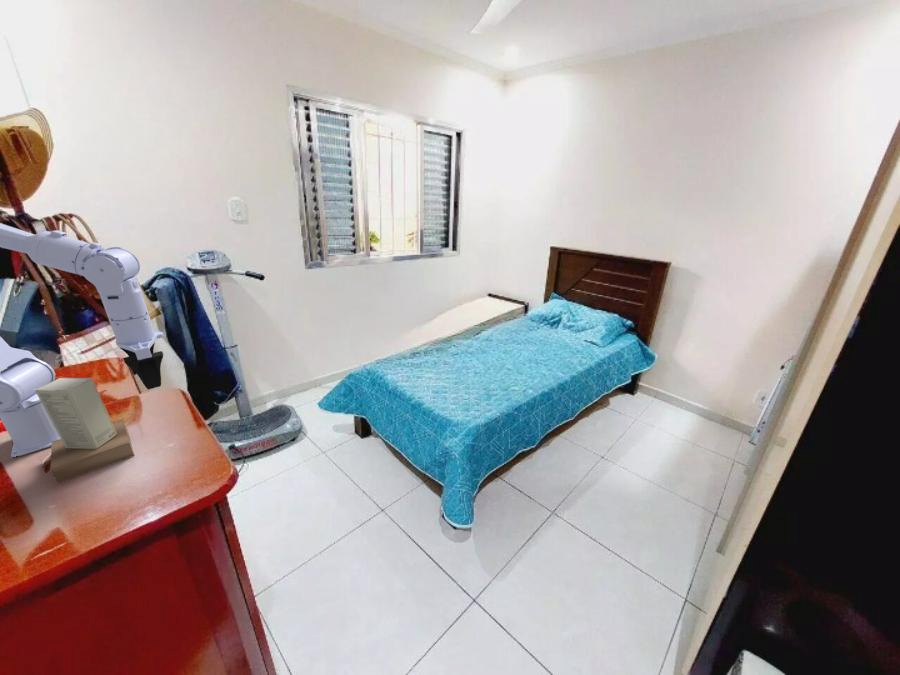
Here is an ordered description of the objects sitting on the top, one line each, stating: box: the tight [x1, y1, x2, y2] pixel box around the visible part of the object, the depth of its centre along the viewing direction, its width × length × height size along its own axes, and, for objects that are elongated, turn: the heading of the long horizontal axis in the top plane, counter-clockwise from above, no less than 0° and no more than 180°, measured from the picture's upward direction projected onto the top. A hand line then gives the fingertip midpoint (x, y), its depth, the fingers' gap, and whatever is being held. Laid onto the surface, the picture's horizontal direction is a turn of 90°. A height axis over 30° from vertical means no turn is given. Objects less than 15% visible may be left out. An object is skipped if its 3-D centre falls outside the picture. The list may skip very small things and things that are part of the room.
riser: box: [49, 419, 135, 485], centre depth 66 cm, size 10×10×3 cm
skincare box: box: [35, 377, 117, 449], centre depth 63 cm, size 6×4×12 cm
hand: (151, 380), depth 72 cm, fingers open, 7 cm apart
